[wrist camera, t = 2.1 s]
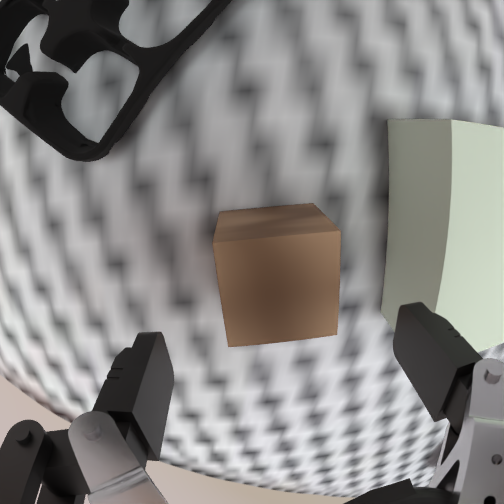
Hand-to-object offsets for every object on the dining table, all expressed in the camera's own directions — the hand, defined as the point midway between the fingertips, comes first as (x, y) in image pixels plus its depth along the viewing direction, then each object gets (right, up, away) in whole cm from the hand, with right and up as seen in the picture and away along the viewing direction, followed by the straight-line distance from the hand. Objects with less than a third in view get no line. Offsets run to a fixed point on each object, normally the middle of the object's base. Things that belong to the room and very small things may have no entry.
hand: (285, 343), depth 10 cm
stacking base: (+13, +5, +7) cm, 16 cm away
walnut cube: (0, +3, +8) cm, 8 cm away
